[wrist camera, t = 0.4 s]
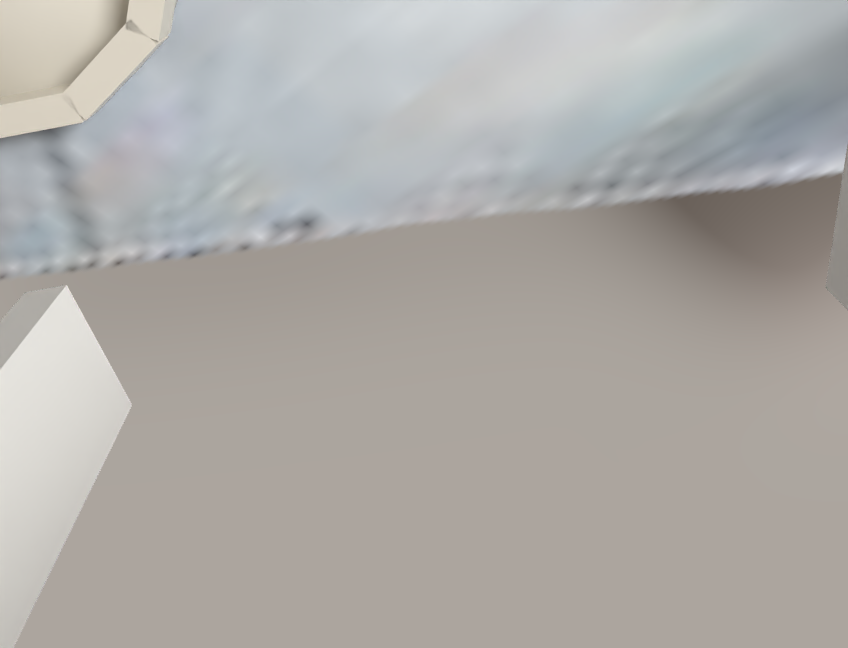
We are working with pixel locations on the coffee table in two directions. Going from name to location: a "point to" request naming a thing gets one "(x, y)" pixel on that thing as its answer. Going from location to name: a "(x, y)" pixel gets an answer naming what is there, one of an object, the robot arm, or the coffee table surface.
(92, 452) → the robot arm
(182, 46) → the coffee table surface
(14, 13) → the round tray
